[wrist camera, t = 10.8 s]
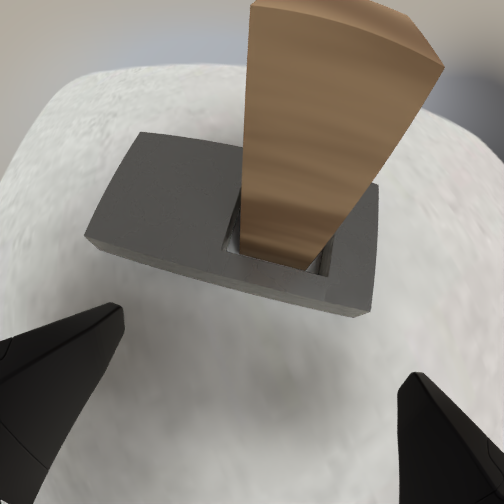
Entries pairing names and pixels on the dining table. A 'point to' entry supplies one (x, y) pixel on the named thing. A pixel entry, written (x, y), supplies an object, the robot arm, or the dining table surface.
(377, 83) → the walnut post
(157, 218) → the grey slotted base plate
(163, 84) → the dining table surface
